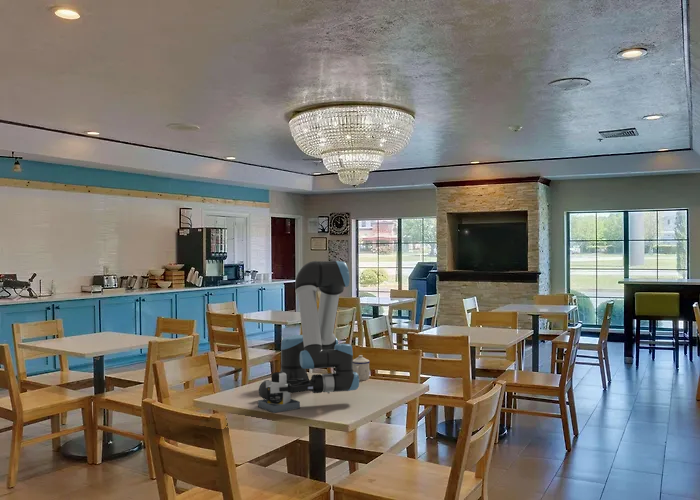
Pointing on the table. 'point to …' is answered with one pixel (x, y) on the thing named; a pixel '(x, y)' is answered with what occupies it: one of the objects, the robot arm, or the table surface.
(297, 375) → the robot arm
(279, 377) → the medicine bottle
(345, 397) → the table surface
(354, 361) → the teacup with lid
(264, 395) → the disc
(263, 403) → the tray
